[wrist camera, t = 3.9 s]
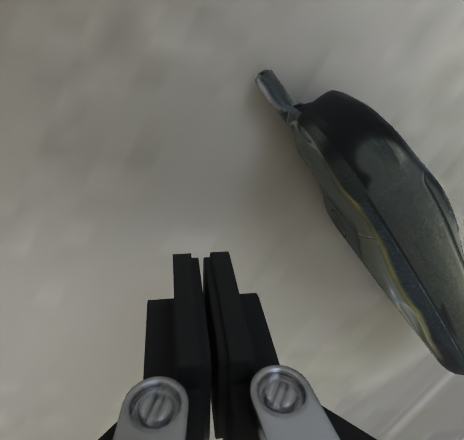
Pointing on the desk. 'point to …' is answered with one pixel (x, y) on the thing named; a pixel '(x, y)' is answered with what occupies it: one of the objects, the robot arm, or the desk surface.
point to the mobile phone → (384, 210)
